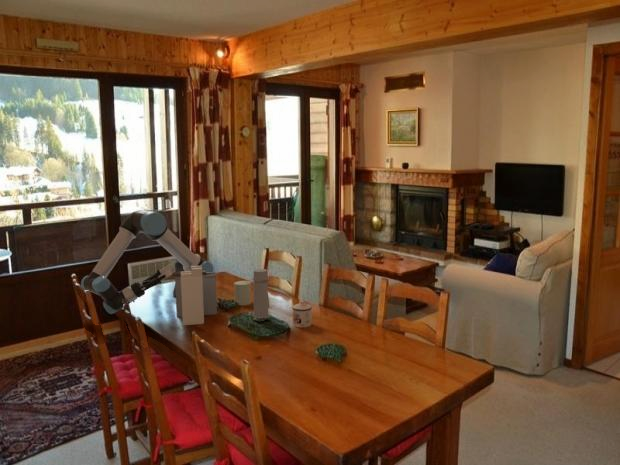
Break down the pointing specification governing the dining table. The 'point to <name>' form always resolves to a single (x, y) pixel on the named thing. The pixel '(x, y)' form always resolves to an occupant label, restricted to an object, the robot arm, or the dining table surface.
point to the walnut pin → (178, 275)
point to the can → (242, 292)
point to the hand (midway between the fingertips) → (171, 268)
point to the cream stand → (192, 296)
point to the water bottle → (260, 293)
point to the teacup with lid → (302, 315)
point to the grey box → (208, 294)
